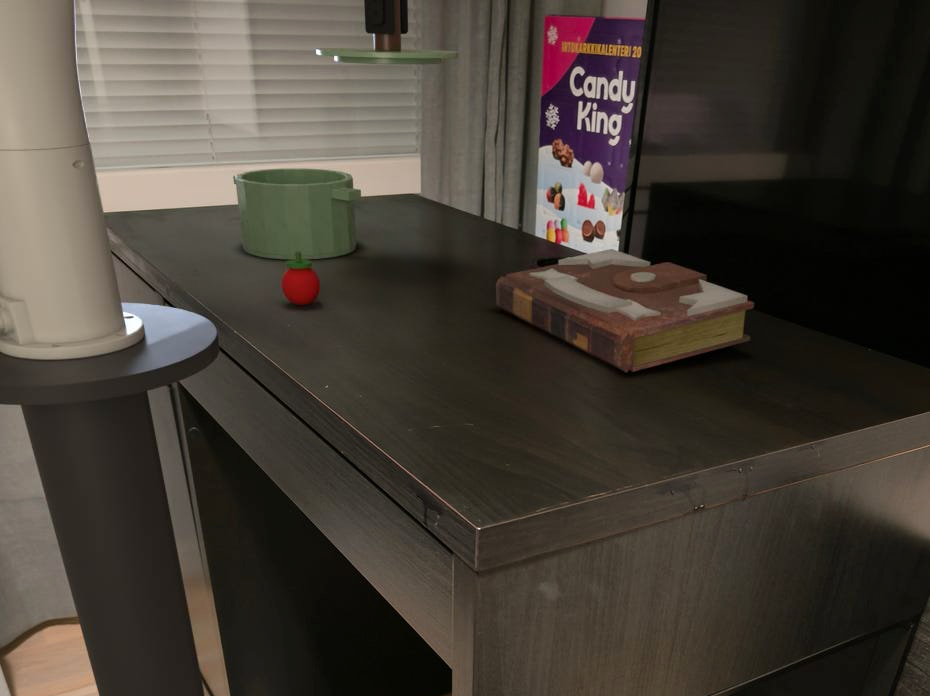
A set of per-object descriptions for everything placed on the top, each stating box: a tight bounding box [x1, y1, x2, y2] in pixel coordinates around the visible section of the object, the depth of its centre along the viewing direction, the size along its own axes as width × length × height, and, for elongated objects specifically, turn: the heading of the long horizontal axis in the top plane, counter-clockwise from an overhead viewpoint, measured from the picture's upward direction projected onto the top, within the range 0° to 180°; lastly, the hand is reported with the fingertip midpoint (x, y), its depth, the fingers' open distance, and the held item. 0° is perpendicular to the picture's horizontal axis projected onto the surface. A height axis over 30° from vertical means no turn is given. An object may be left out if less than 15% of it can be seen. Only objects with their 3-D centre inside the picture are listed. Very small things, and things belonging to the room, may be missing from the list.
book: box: [495, 248, 755, 374], centre depth 90 cm, size 23×16×5 cm
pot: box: [232, 167, 362, 261], centre depth 119 cm, size 15×20×8 cm
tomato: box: [281, 251, 321, 306], centre depth 96 cm, size 4×4×5 cm
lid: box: [315, 0, 459, 66], centre depth 100 cm, size 16×16×8 cm
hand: (387, 31), depth 100 cm, fingers closed on lid, 3 cm apart
